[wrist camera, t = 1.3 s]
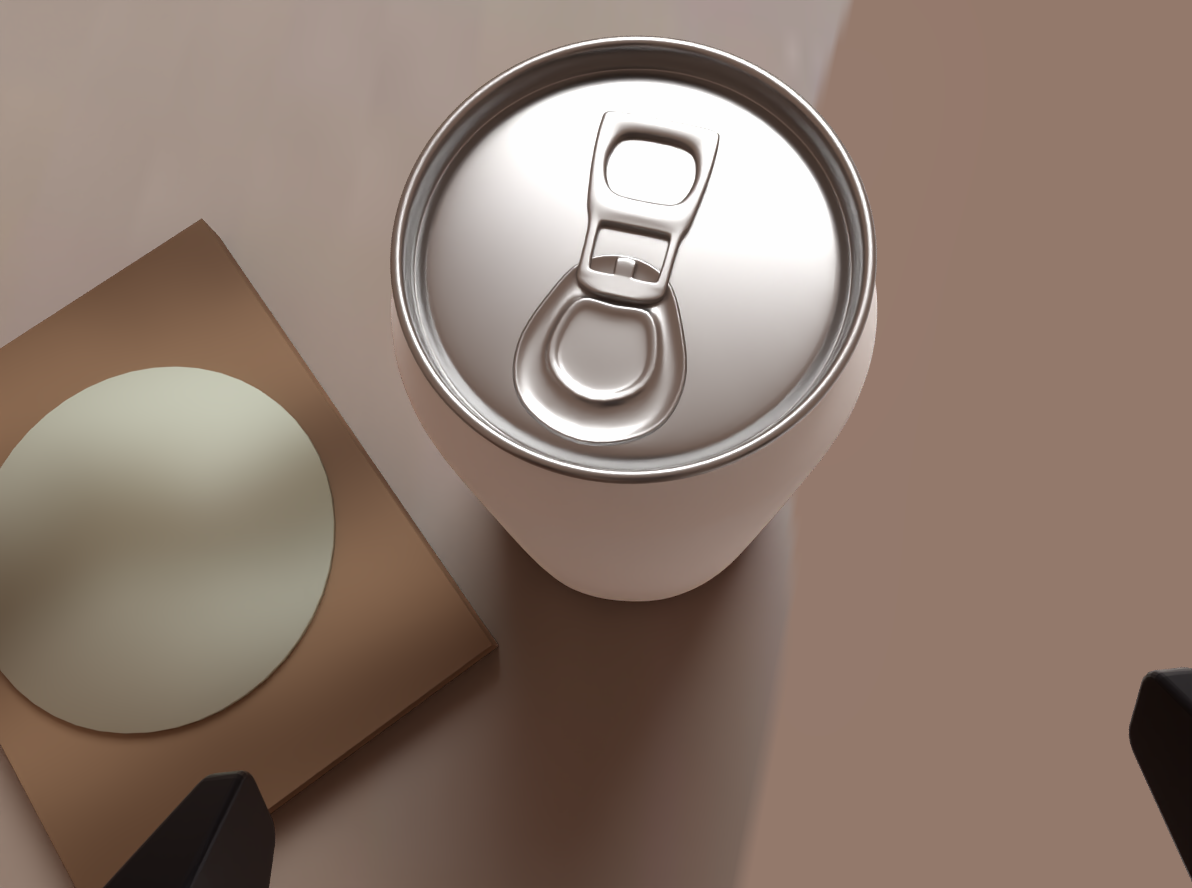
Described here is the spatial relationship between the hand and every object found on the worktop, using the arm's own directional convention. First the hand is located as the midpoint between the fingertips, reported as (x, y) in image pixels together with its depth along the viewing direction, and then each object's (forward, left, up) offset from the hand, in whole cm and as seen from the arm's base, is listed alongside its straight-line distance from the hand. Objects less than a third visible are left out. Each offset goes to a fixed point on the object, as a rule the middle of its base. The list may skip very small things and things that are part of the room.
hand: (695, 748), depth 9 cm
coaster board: (+10, +7, -12) cm, 17 cm away
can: (+5, -3, -12) cm, 13 cm away
